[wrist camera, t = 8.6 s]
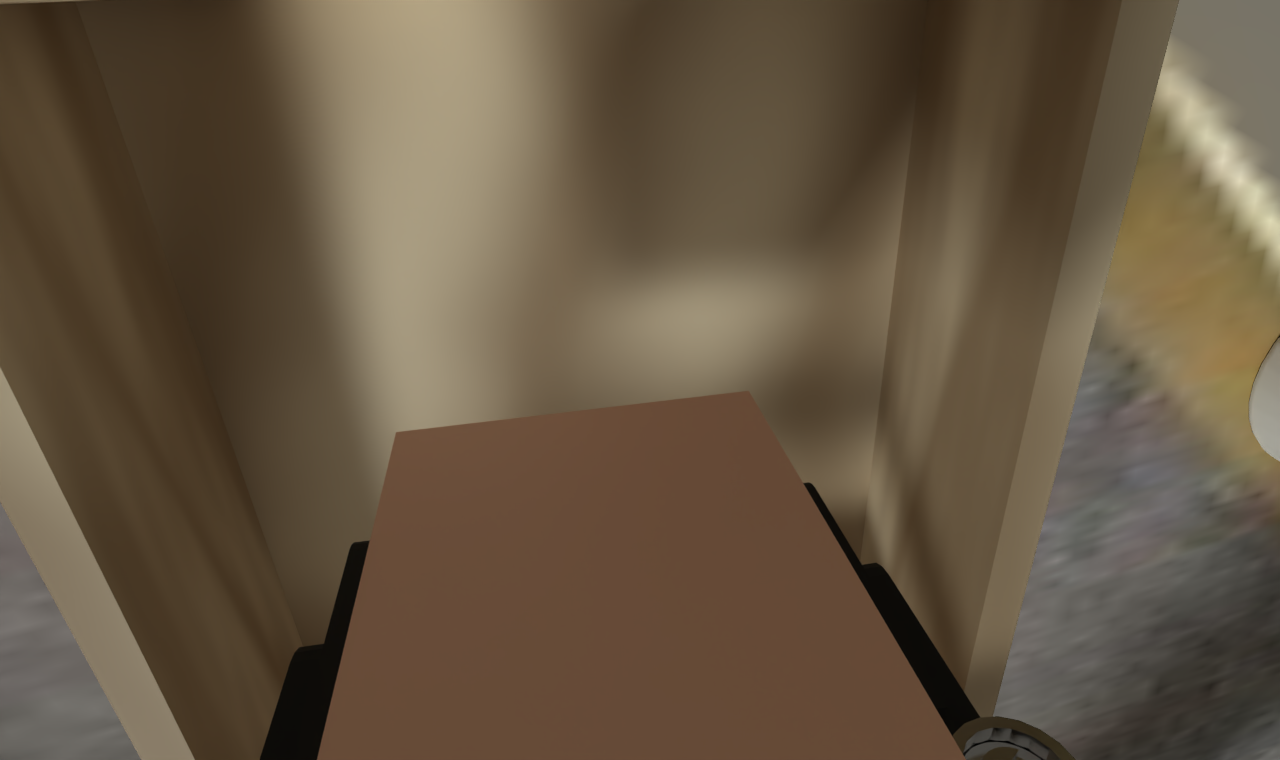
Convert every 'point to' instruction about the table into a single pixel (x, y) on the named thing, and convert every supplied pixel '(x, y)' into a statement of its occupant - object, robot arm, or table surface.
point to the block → (616, 602)
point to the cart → (533, 284)
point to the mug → (1267, 403)
